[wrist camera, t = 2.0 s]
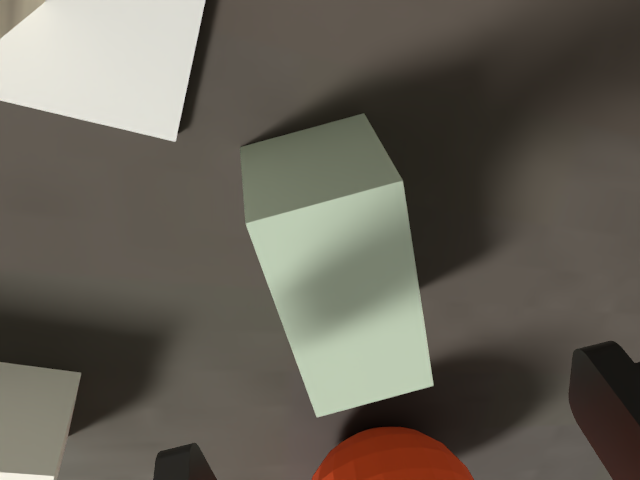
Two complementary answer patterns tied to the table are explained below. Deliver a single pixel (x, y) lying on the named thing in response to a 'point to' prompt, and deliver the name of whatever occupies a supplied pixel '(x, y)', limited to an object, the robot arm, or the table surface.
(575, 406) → the robot arm
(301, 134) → the sage brick
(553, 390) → the table surface
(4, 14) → the birch brick
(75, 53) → the mat
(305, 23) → the table surface
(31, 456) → the cream brick
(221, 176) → the table surface
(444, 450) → the clementine
